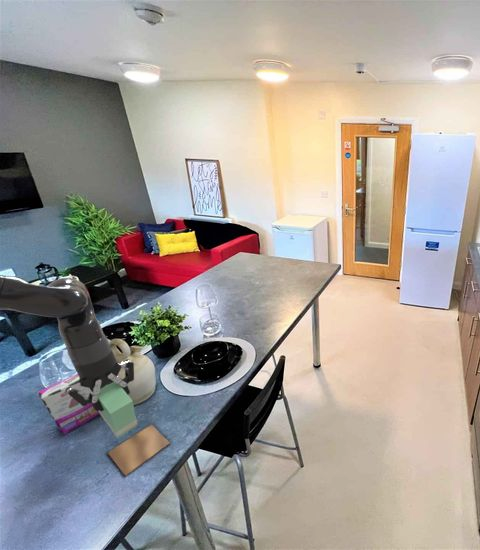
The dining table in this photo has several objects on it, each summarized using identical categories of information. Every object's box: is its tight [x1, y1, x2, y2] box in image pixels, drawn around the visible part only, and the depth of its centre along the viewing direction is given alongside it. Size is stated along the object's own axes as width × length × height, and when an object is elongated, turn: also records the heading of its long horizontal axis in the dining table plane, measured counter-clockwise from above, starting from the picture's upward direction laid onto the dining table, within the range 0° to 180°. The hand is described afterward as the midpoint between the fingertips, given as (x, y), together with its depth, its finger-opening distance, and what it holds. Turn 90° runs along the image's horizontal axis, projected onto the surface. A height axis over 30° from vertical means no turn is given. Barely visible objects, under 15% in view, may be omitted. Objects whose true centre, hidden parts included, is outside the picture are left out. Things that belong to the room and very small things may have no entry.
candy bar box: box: [37, 373, 101, 436], centre depth 95 cm, size 11×5×16 cm, turn 147°
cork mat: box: [107, 424, 171, 477], centre depth 90 cm, size 12×12×1 cm
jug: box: [109, 338, 157, 407], centre depth 104 cm, size 15×16×25 cm
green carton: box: [98, 382, 138, 439], centre depth 81 cm, size 5×14×10 cm
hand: (113, 402), depth 80 cm, fingers closed on green carton, 5 cm apart
